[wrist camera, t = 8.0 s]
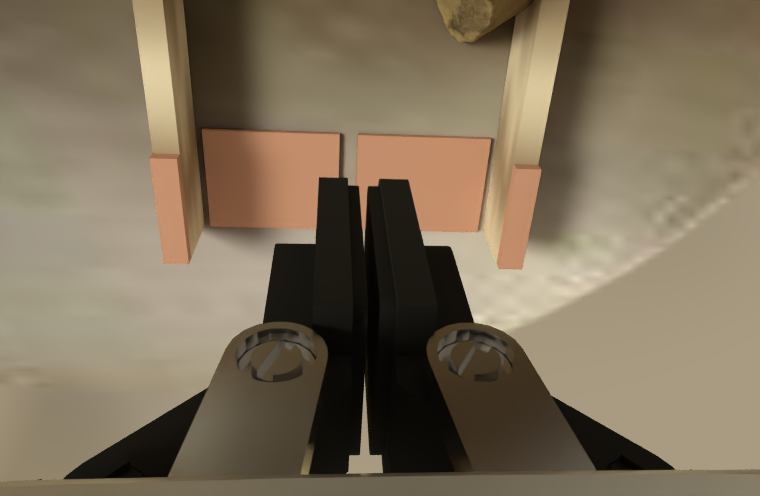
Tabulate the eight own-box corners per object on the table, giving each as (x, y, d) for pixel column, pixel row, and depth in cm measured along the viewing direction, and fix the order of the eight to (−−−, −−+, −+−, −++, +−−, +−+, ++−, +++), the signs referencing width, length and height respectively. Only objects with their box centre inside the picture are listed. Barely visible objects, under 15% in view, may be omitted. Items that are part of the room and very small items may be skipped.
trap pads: (171, 127, 26) (149, 158, 23) (519, 138, 27) (541, 169, 24) (182, 224, 29) (163, 263, 25) (503, 230, 30) (522, 269, 27)
